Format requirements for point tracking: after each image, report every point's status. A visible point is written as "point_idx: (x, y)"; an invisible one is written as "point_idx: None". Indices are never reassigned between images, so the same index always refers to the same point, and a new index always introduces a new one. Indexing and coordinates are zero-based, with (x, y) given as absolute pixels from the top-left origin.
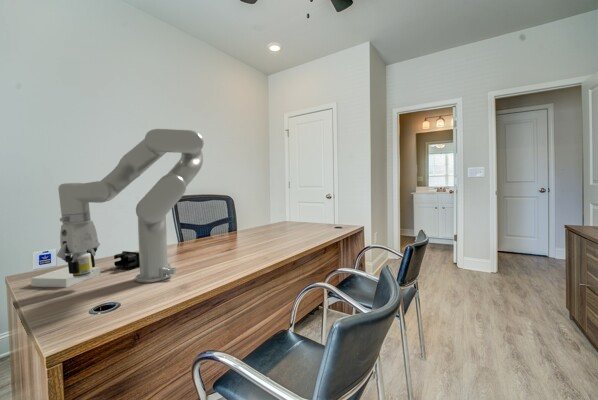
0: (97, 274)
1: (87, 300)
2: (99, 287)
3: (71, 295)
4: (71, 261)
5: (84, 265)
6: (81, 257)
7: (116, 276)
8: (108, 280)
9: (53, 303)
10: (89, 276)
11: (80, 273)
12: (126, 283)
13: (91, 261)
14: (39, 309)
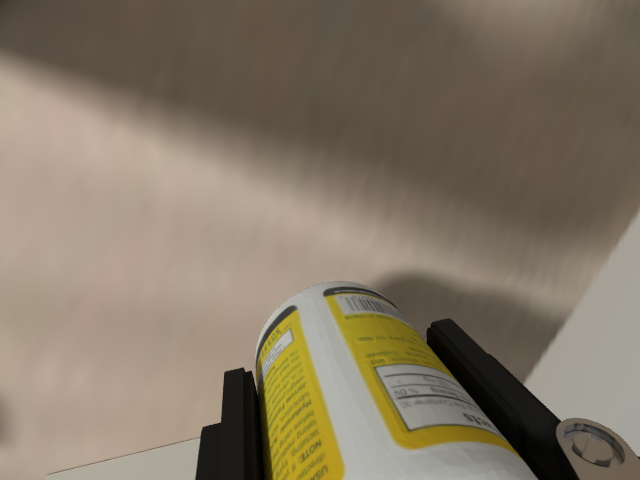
0: (71, 475)
1: (491, 26)
2: (271, 193)
3: (427, 237)
4: (610, 445)
5: (412, 353)
6: (517, 474)
7: (17, 310)
8: (125, 278)
9: (535, 212)
10: (145, 463)
11: (406, 319)
12: (118, 26)
13: (291, 408)
14: (603, 199)
